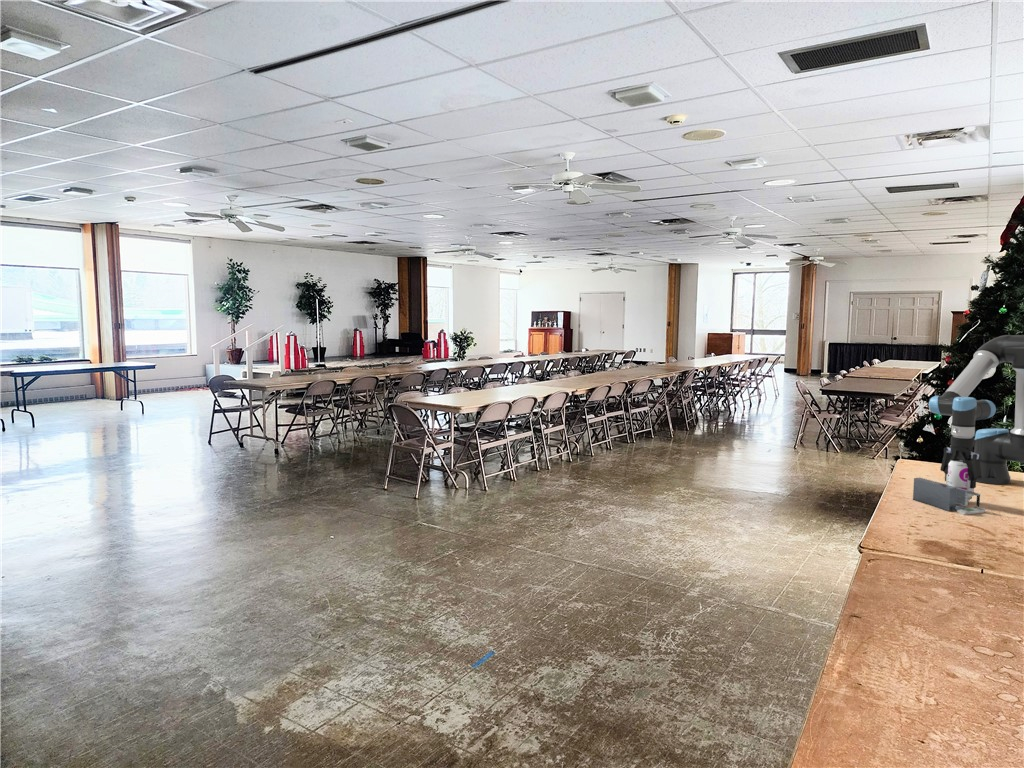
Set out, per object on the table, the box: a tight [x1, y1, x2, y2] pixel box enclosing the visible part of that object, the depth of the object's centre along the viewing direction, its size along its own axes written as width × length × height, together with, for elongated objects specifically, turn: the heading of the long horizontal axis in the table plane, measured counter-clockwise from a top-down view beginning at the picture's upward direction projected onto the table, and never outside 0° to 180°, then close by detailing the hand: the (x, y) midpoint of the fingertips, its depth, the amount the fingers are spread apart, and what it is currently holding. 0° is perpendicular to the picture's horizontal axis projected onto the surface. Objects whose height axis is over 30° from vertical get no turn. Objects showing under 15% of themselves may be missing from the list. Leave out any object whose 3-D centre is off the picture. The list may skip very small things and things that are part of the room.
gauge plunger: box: [934, 480, 981, 507], centre depth 250 cm, size 1×19×6 cm, turn 15°
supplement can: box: [947, 460, 973, 501], centre depth 253 cm, size 8×8×15 cm
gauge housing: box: [912, 477, 986, 516], centre depth 249 cm, size 12×21×9 cm, turn 15°
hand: (959, 492), depth 254 cm, fingers closed on supplement can, 8 cm apart
